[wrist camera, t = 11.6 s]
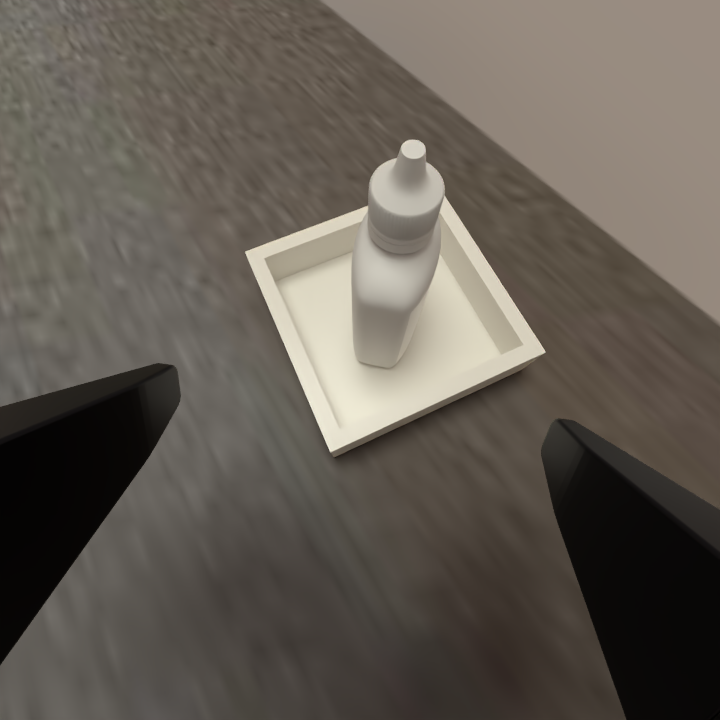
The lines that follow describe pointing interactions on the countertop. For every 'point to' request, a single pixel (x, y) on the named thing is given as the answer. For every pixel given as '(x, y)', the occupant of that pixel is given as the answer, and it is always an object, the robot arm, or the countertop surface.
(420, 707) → the countertop surface
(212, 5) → the countertop surface
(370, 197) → the eye dropper bottle
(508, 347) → the tray
